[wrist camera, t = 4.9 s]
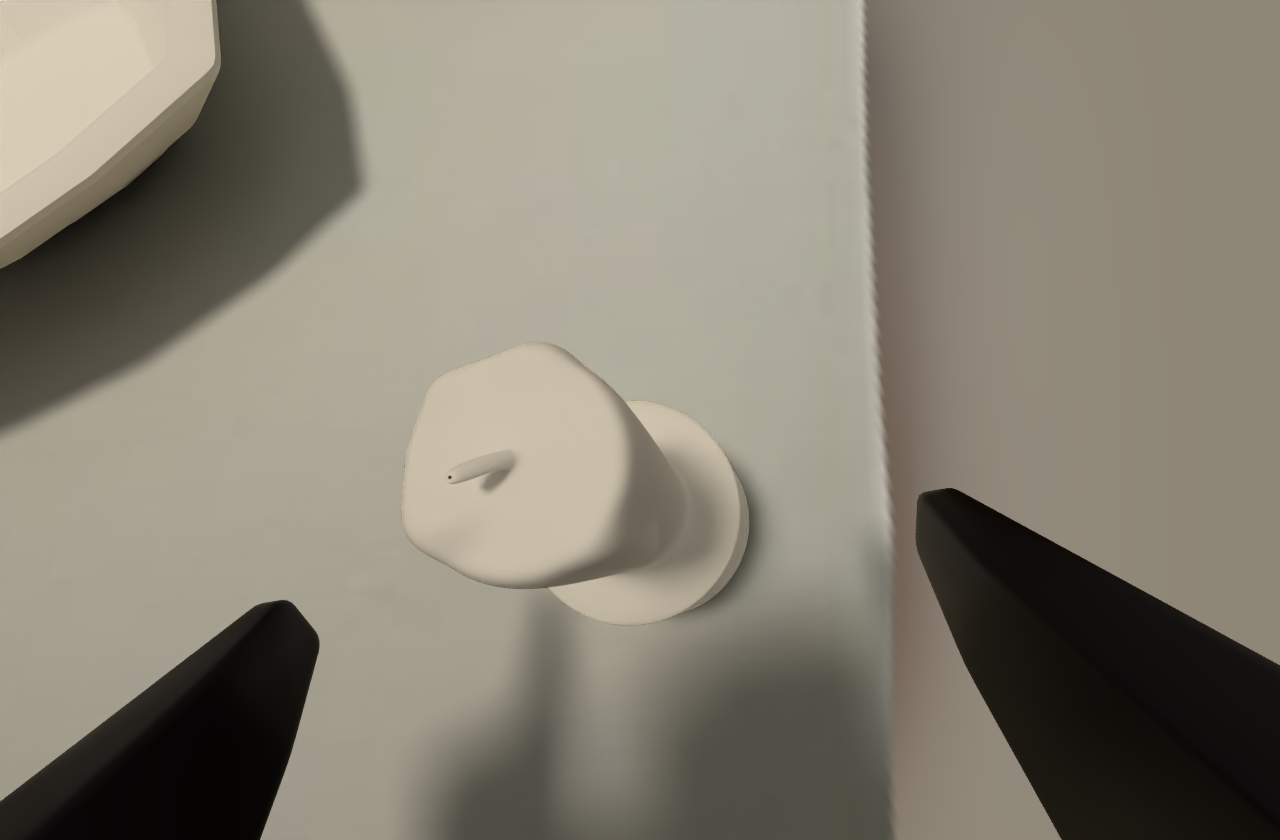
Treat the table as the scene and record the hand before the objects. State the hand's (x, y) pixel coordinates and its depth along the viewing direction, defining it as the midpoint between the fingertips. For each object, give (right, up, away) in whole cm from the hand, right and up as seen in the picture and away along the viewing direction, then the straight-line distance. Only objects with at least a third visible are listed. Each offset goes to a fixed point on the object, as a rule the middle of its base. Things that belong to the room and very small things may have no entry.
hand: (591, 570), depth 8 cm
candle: (+1, -1, +9) cm, 9 cm away
